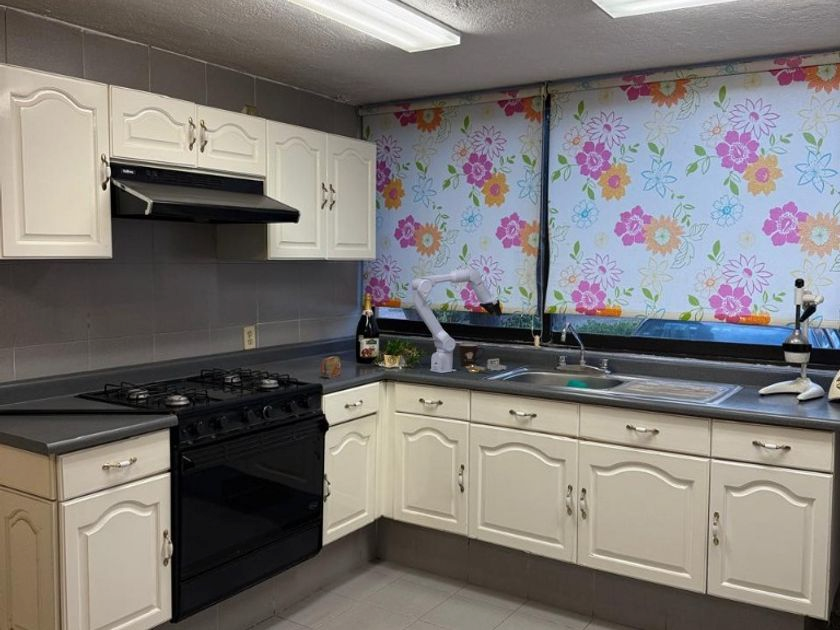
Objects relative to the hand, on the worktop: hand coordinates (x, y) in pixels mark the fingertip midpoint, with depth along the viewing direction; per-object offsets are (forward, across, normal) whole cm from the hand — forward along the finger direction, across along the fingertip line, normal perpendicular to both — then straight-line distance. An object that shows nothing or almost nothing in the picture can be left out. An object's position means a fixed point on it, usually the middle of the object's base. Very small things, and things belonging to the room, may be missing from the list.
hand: (496, 314), depth 349 cm
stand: (+20, -4, +16) cm, 25 cm away
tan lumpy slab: (-27, -2, +78) cm, 83 cm away
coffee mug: (+16, +8, +22) cm, 28 cm away
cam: (+12, -10, +26) cm, 30 cm away
